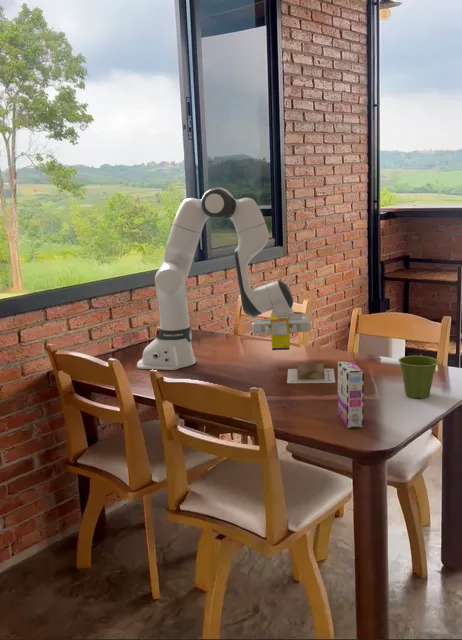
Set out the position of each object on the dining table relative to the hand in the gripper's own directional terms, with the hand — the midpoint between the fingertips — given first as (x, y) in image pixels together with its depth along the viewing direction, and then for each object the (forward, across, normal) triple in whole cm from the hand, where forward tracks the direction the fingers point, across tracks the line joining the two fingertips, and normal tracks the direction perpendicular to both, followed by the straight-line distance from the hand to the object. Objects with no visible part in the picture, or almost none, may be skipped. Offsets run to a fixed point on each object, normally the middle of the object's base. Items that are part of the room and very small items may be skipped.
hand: (280, 331), depth 225 cm
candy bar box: (+39, +21, +18) cm, 48 cm away
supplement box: (-1, 0, +6) cm, 6 cm away
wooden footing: (-1, +10, +16) cm, 19 cm away
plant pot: (+17, +43, +18) cm, 50 cm away
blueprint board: (-1, +10, +17) cm, 20 cm away
